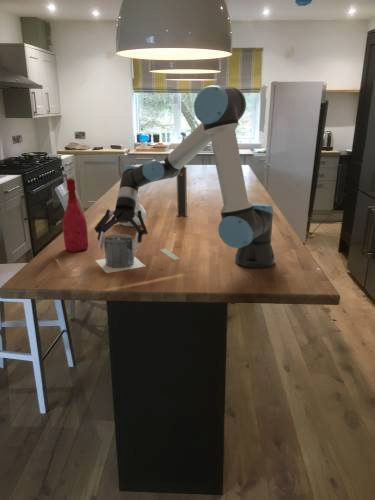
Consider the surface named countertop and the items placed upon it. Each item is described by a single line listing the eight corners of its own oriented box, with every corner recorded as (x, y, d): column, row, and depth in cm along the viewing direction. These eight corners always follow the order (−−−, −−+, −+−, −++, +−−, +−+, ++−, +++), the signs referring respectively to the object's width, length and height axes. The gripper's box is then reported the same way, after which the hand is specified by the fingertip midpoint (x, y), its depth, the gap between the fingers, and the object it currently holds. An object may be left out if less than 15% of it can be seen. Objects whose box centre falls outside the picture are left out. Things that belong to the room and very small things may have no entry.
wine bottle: (69, 245, 178) (62, 176, 169) (91, 245, 178) (85, 176, 168) (61, 252, 169) (54, 180, 159) (85, 252, 169) (79, 180, 159)
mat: (180, 260, 160) (180, 258, 160) (147, 265, 154) (146, 264, 154) (165, 250, 172) (165, 248, 172) (134, 255, 166) (134, 253, 166)
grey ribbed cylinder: (137, 265, 152) (136, 239, 149) (110, 269, 147) (109, 243, 144) (128, 256, 161) (127, 232, 157) (102, 261, 156) (101, 236, 153)
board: (145, 268, 151) (145, 266, 151) (106, 275, 145) (106, 273, 144) (132, 256, 164) (131, 254, 163) (95, 262, 157) (95, 260, 157)
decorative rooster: (116, 221, 219) (113, 174, 211) (145, 220, 221) (144, 174, 213) (114, 233, 195) (111, 182, 187) (147, 232, 197) (145, 181, 189)
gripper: (159, 207, 161) (152, 254, 152) (98, 205, 165) (88, 252, 155) (156, 196, 155) (148, 245, 145) (93, 195, 158) (82, 243, 149)
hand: (117, 249), depth 150 cm, fingers open, 13 cm apart
